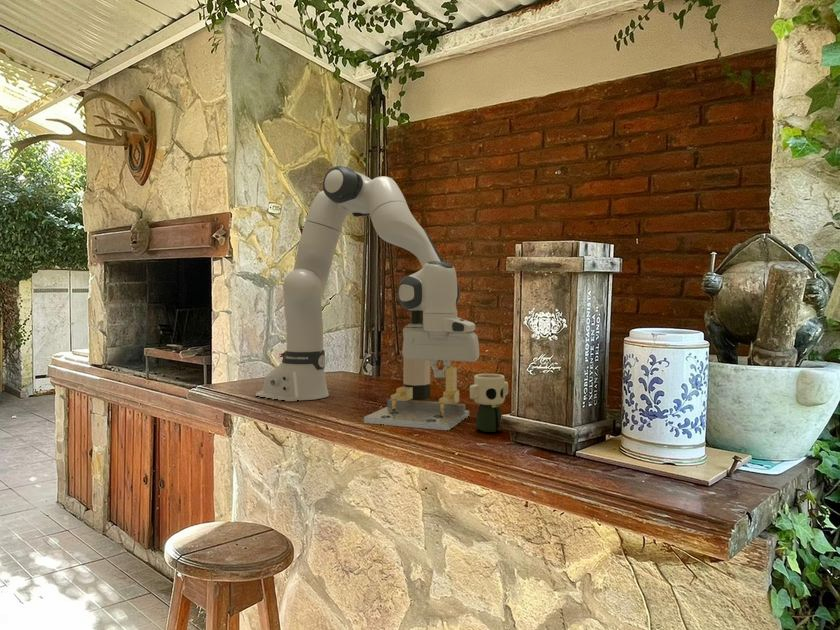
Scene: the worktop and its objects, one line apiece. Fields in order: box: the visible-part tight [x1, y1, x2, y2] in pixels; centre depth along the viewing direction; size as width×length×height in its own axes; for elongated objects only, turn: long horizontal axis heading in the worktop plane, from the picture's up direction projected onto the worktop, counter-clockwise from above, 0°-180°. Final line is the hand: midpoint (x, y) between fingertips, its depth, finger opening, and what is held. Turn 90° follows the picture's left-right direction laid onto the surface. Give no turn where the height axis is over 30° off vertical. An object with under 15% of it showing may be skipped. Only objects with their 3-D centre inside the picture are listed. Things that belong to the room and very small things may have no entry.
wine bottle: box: [402, 310, 431, 400], centre depth 184 cm, size 8×8×30 cm
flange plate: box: [363, 386, 470, 431], centre depth 153 cm, size 22×17×7 cm
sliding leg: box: [438, 366, 460, 415], centre depth 152 cm, size 3×10×11 cm, turn 159°
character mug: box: [469, 373, 509, 433], centre depth 140 cm, size 11×7×13 cm, turn 121°
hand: (440, 377), depth 156 cm, fingers closed
